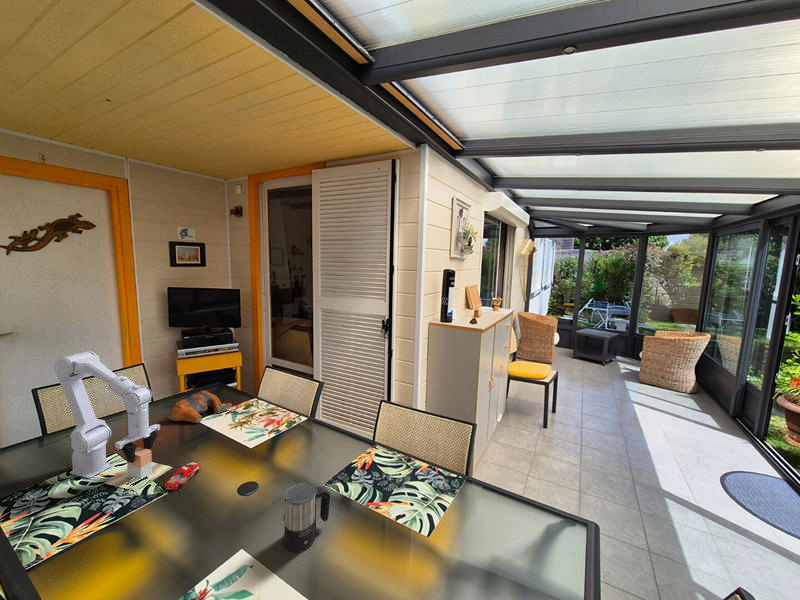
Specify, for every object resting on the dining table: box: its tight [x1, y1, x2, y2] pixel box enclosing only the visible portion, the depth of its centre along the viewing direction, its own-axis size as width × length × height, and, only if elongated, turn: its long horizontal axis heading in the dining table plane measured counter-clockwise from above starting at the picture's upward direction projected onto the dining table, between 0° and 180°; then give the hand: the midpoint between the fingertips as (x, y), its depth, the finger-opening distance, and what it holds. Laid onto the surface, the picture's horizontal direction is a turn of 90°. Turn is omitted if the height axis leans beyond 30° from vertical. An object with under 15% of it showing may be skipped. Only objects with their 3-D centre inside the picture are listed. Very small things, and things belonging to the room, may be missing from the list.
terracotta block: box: [127, 446, 153, 468], centre depth 119 cm, size 6×4×4 cm, turn 77°
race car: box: [164, 461, 201, 492], centre depth 118 cm, size 13×5×4 cm, turn 171°
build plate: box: [104, 461, 174, 492], centre depth 120 cm, size 14×14×1 cm
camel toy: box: [166, 390, 233, 424], centre depth 167 cm, size 25×13×17 cm
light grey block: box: [127, 461, 153, 479], centre depth 119 cm, size 6×4×4 cm, turn 77°
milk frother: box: [282, 482, 331, 553], centre depth 99 cm, size 14×16×15 cm
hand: (139, 457), depth 119 cm, fingers open, 5 cm apart
